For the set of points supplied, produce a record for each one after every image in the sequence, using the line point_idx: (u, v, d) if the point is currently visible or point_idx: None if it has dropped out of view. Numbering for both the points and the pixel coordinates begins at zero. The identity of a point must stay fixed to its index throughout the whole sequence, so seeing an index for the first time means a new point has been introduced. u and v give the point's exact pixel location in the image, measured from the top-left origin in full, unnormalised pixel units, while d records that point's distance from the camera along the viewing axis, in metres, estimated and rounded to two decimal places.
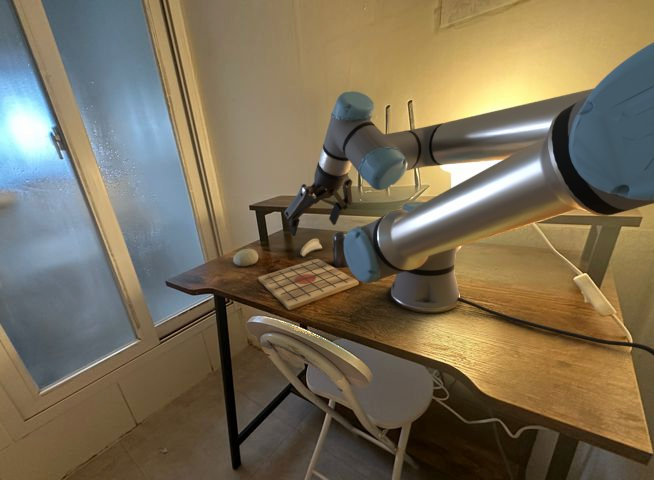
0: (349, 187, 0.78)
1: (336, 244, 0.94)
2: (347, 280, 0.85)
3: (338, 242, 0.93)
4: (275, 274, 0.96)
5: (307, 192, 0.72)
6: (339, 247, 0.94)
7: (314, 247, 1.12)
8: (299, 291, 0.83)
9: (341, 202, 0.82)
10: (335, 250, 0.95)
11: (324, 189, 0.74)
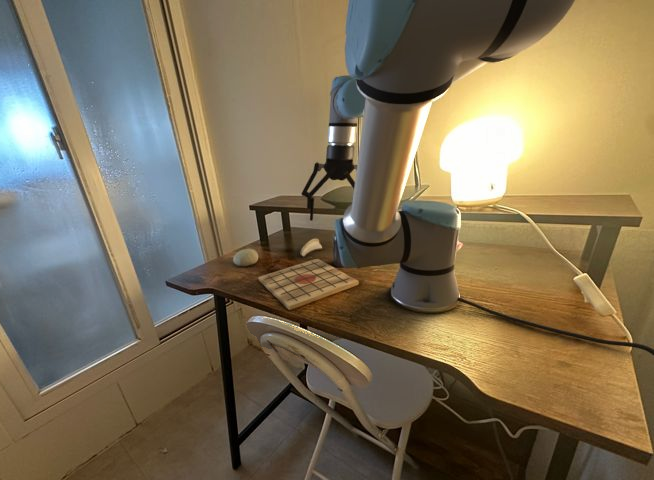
0: None
1: (336, 244, 0.94)
2: (347, 280, 0.85)
3: None
4: (275, 274, 0.96)
5: (315, 164, 0.85)
6: None
7: (314, 247, 1.12)
8: (299, 291, 0.83)
9: None
10: (335, 250, 0.95)
11: (333, 166, 0.84)
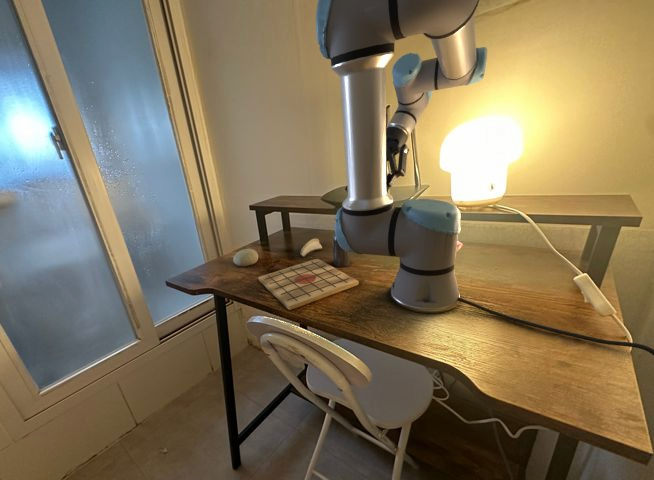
0: (402, 150, 0.88)
1: (336, 244, 0.94)
2: (347, 280, 0.85)
3: None
4: (275, 274, 0.96)
5: None
6: (339, 247, 0.94)
7: (314, 247, 1.12)
8: (299, 291, 0.83)
9: (391, 165, 0.89)
10: (335, 250, 0.95)
11: None
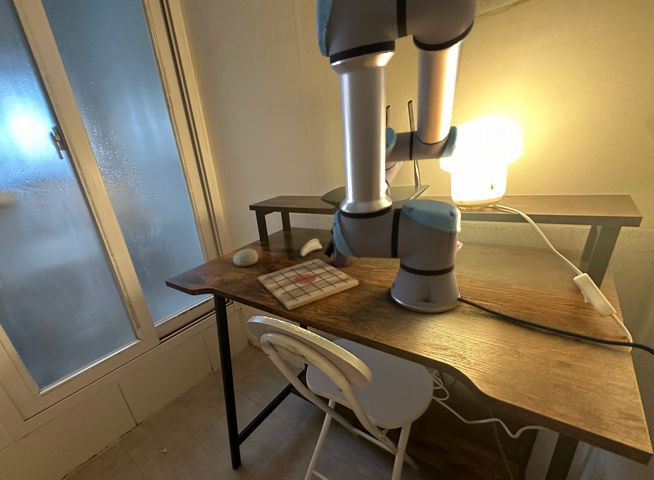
0: None
1: None
2: (347, 280, 0.85)
3: None
4: (275, 274, 0.96)
5: None
6: None
7: (314, 247, 1.12)
8: (299, 291, 0.83)
9: None
10: (335, 250, 0.95)
11: None
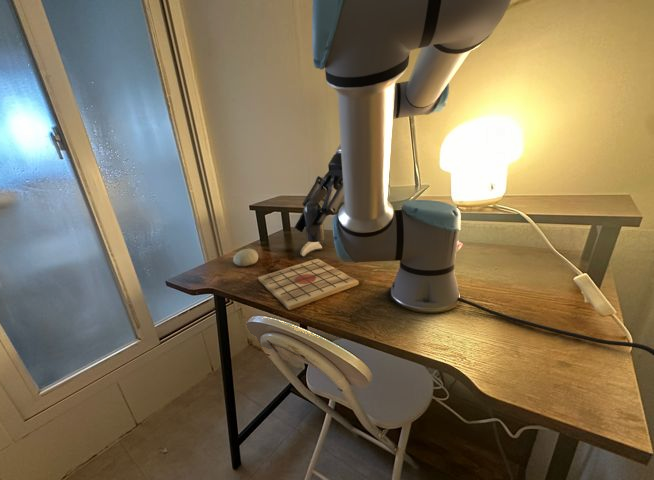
0: (342, 184, 0.80)
1: (308, 215, 0.83)
2: (347, 280, 0.85)
3: (309, 213, 0.83)
4: (275, 274, 0.96)
5: (317, 177, 0.89)
6: (311, 219, 0.83)
7: (314, 247, 1.12)
8: (299, 291, 0.83)
9: (325, 201, 0.82)
10: (307, 223, 0.85)
11: (330, 175, 0.85)
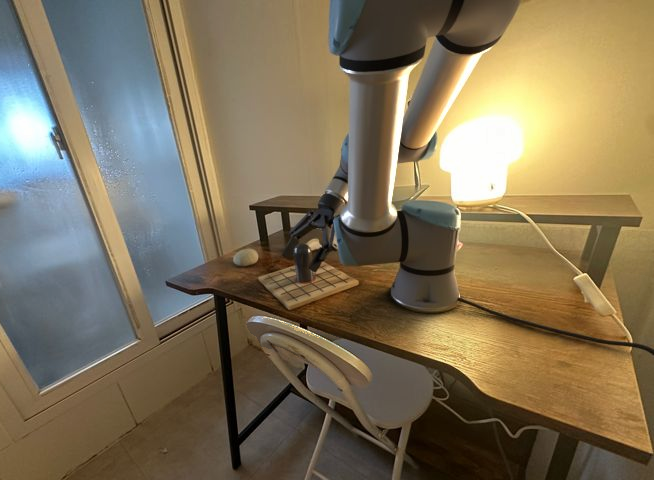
0: None
1: (297, 257, 0.85)
2: (347, 280, 0.85)
3: (298, 256, 0.84)
4: (275, 274, 0.96)
5: (309, 210, 0.91)
6: (300, 261, 0.85)
7: (314, 247, 1.12)
8: (299, 291, 0.83)
9: (324, 238, 0.81)
10: (296, 264, 0.86)
11: (319, 213, 0.87)
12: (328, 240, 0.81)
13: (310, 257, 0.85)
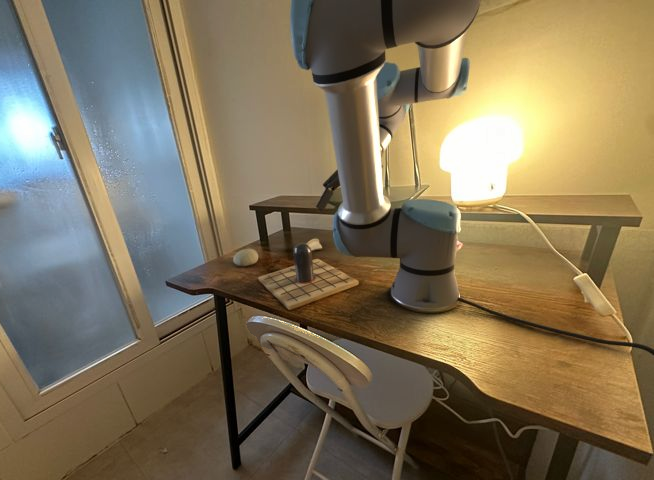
0: None
1: (297, 257, 0.85)
2: (347, 280, 0.85)
3: (298, 256, 0.84)
4: (275, 274, 0.96)
5: None
6: (300, 261, 0.85)
7: (314, 247, 1.12)
8: (299, 291, 0.83)
9: None
10: (296, 264, 0.86)
11: None
12: None
13: (310, 257, 0.85)
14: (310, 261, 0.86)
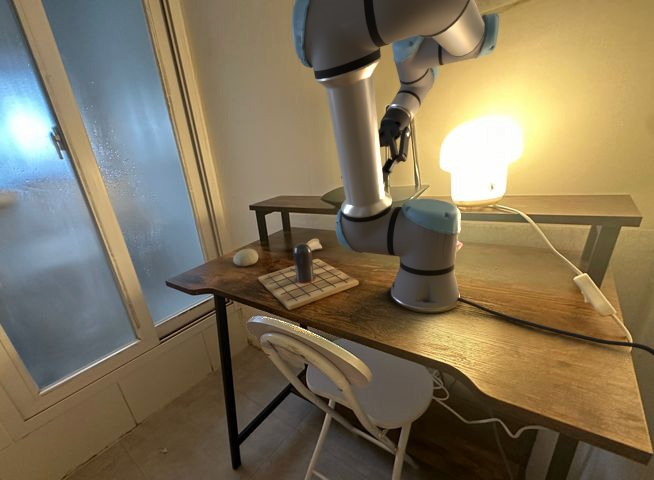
0: (403, 133, 0.80)
1: (297, 257, 0.85)
2: (347, 280, 0.85)
3: (298, 256, 0.84)
4: (275, 274, 0.96)
5: None
6: (300, 261, 0.85)
7: (314, 247, 1.12)
8: (299, 291, 0.83)
9: (392, 150, 0.80)
10: (296, 264, 0.86)
11: None
12: (396, 152, 0.80)
13: (310, 257, 0.85)
14: (310, 261, 0.86)
